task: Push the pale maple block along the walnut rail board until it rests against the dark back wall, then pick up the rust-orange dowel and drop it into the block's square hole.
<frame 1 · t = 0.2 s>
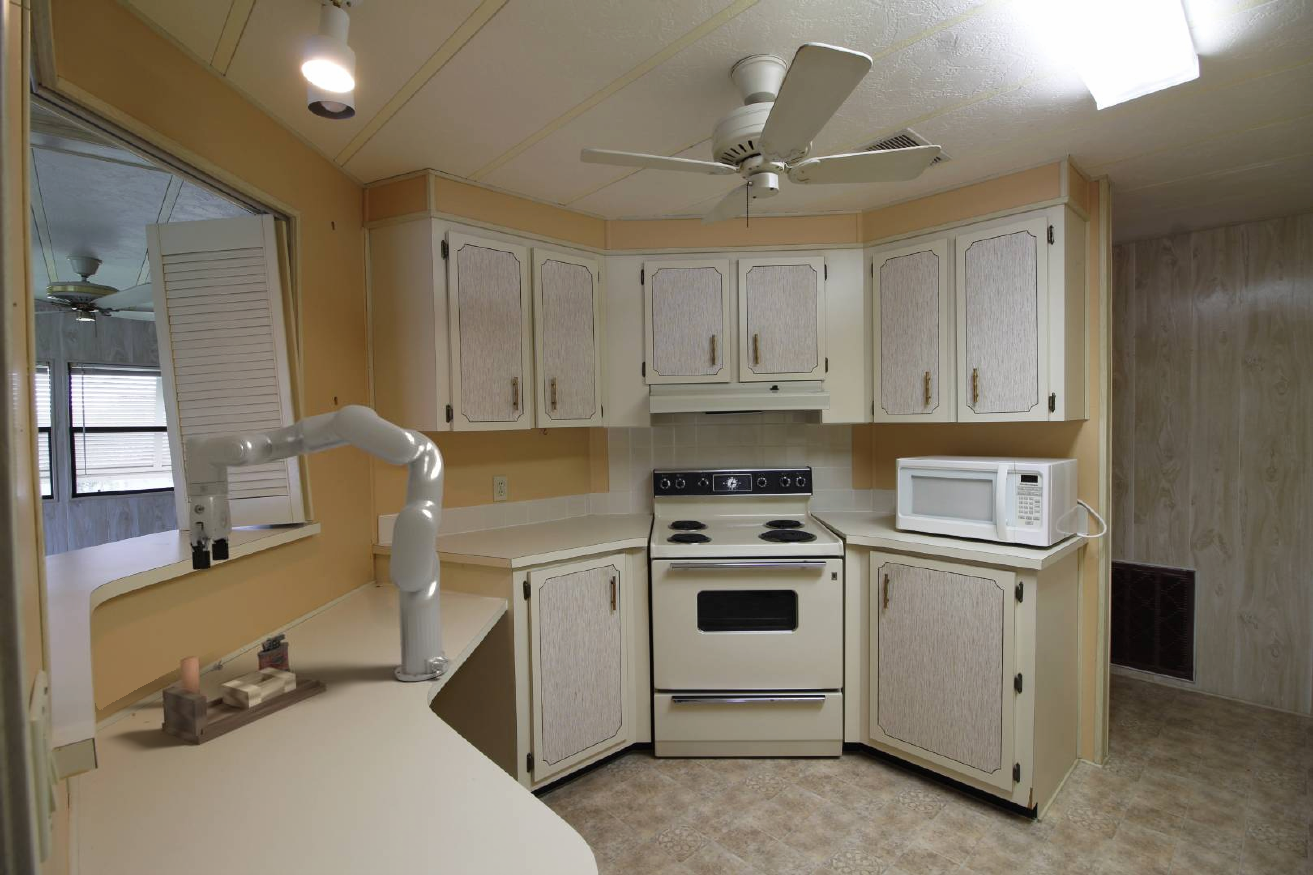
hand: (211, 564, 137), 31 cm above the counter, tool pointing down, fingers open, 9 cm apart
lighter: (274, 678, 147), on the counter
rail board: (249, 708, 131), on the counter
block: (259, 687, 133), point 4 cm above the counter, slide at 8.0 cm
dowel: (191, 702, 135), on the counter
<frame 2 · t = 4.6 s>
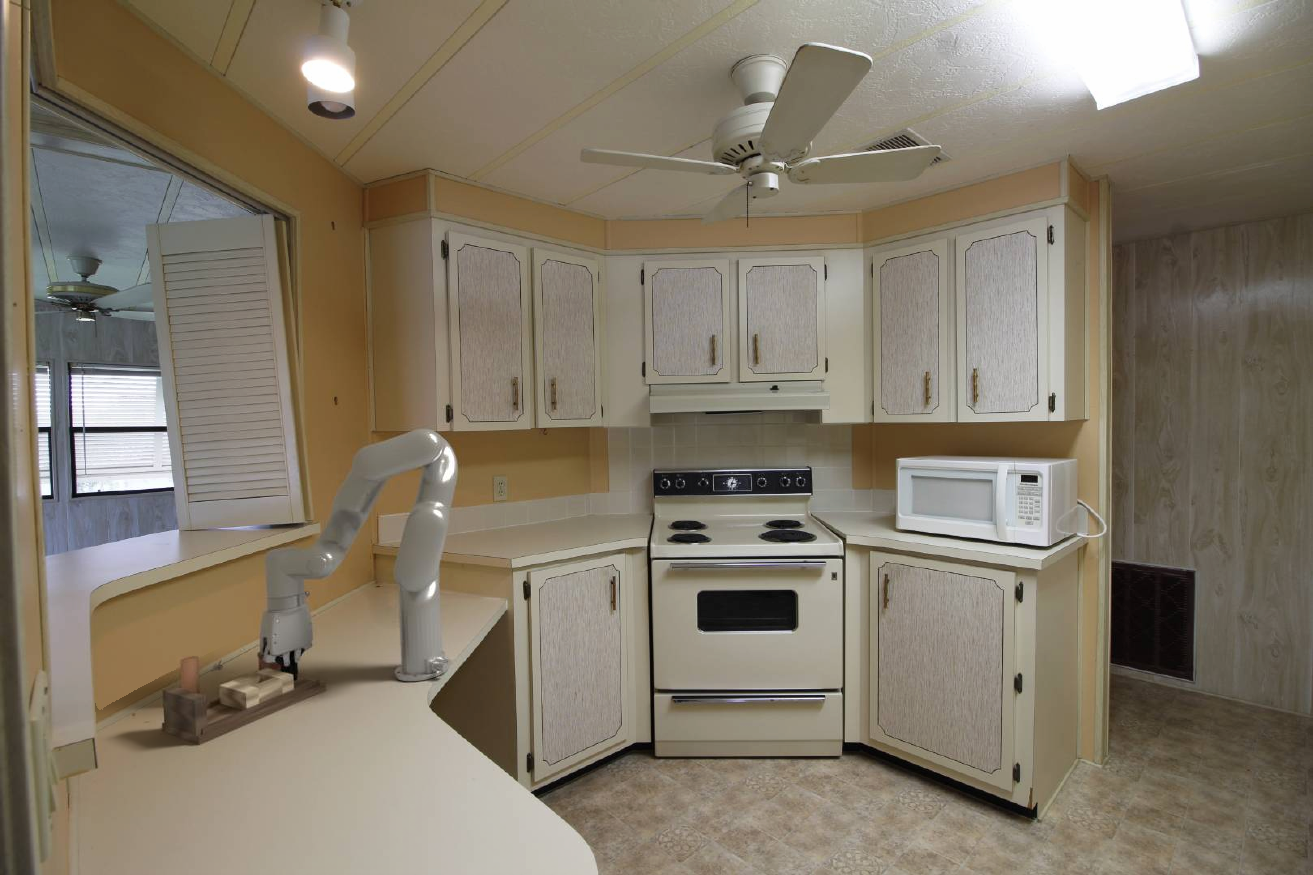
hand: (289, 680, 139), 3 cm above the counter, tool pointing down, fingers closed
block: (257, 688, 132), point 4 cm above the counter, slide at 7.5 cm, touching gripper
everything else where it was.
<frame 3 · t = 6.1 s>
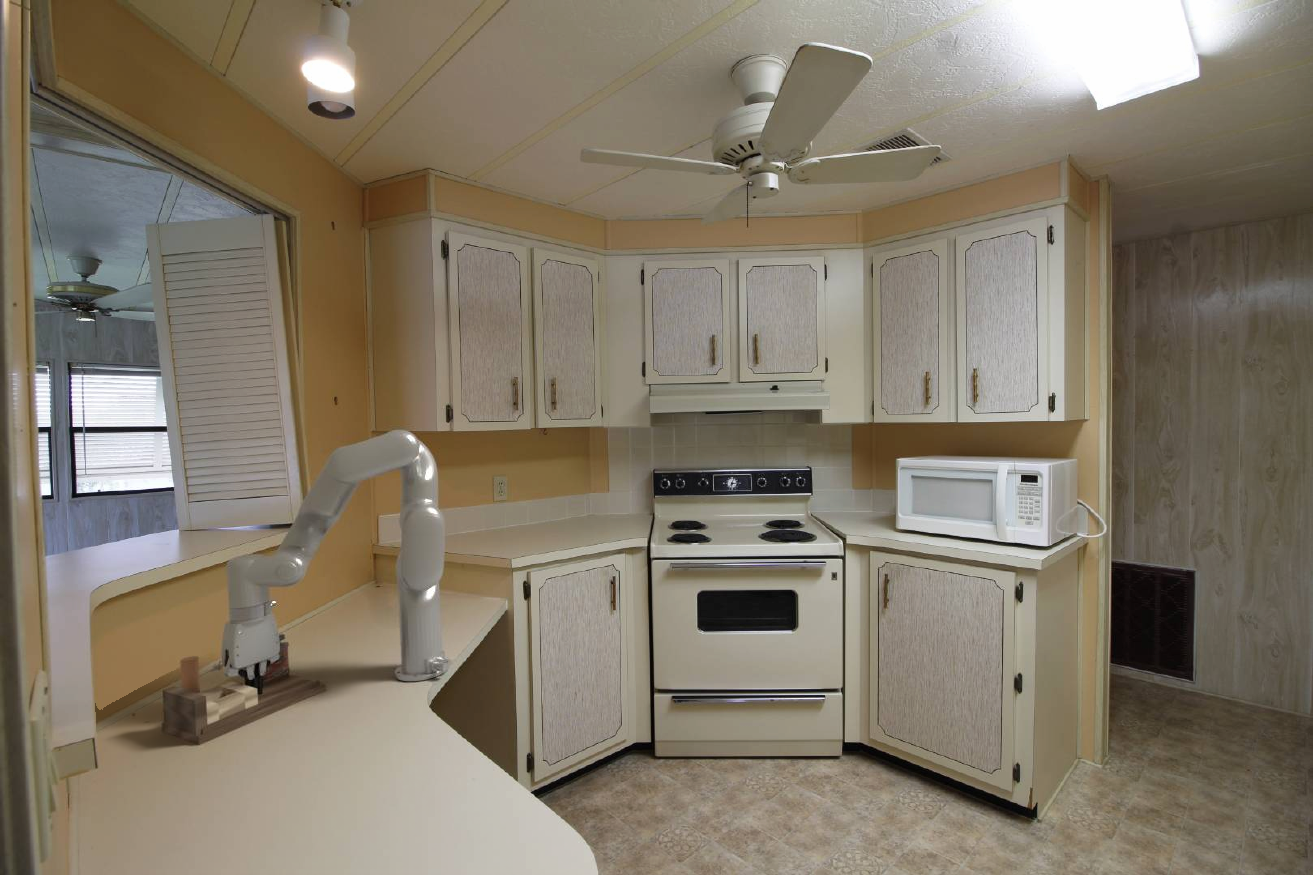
hand: (254, 694, 132), 3 cm above the counter, tool pointing down, fingers closed
block: (218, 703, 125), point 4 cm above the counter, slide at -0.2 cm, touching gripper
everything else where it was.
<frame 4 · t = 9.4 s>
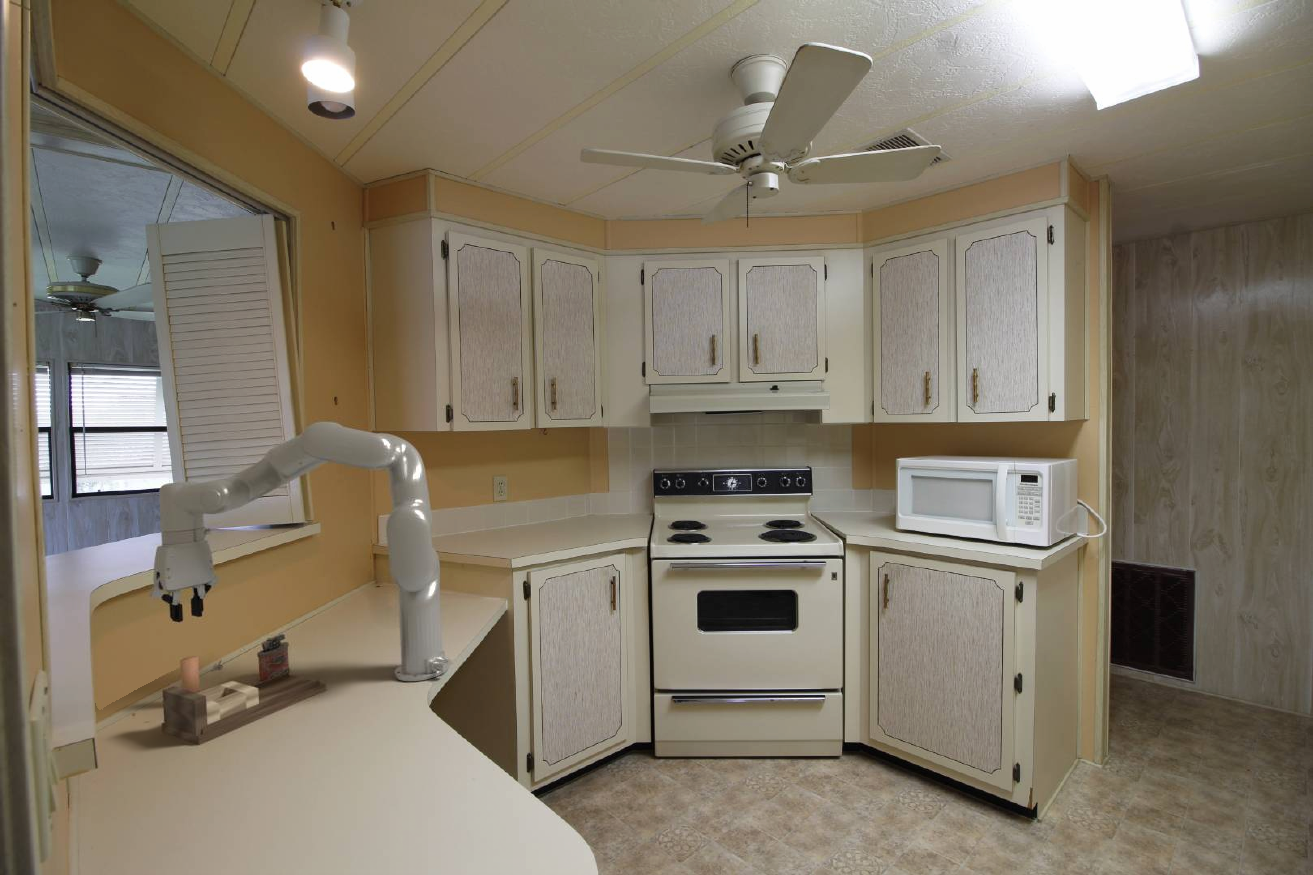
hand: (187, 617, 135), 19 cm above the counter, tool pointing down, fingers open, 3 cm apart
block: (219, 703, 126), point 4 cm above the counter, slide at 0.0 cm
everything else where it was.
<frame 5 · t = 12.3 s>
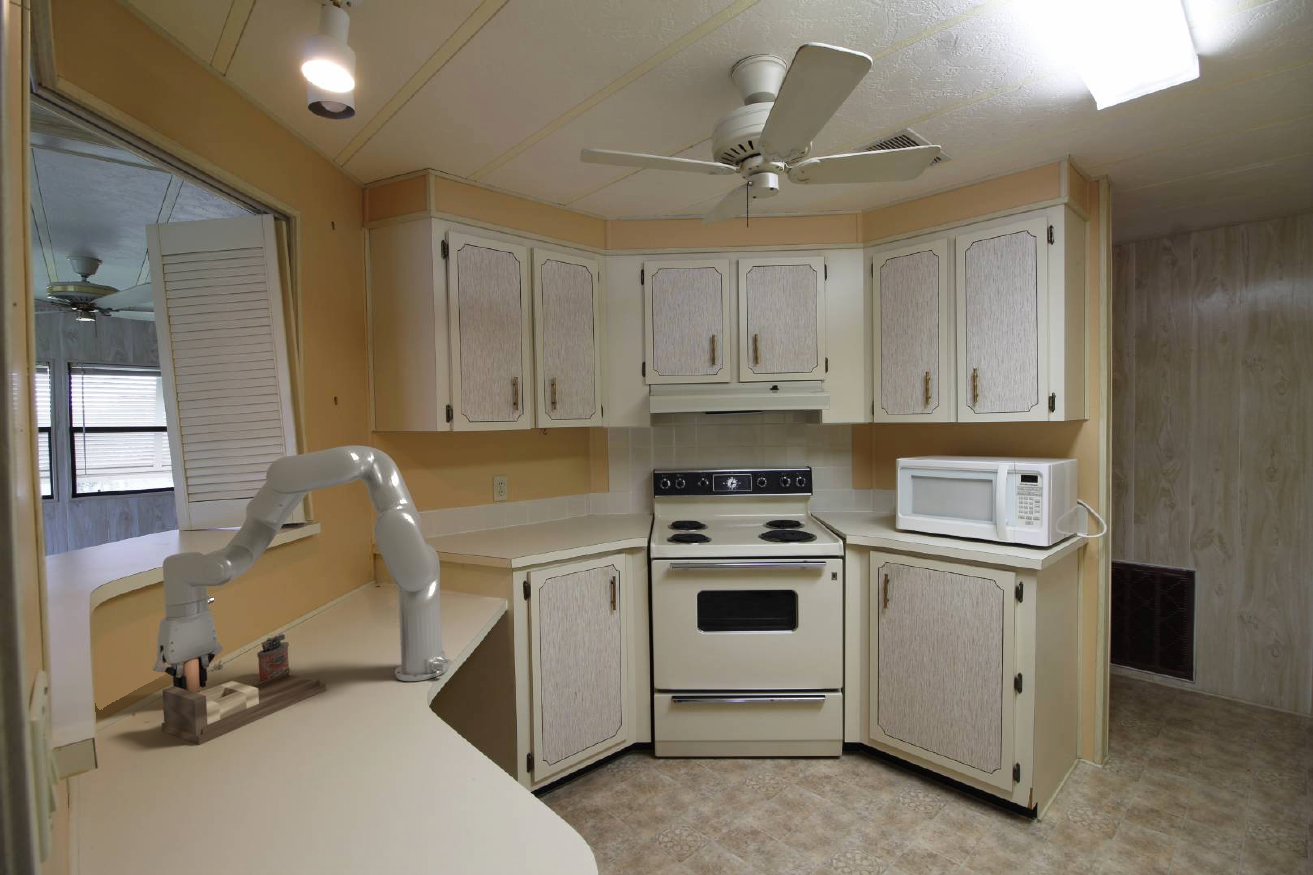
hand: (190, 688, 135), 3 cm above the counter, tool pointing down, fingers closed on dowel, 3 cm apart
dowel: (191, 702, 135), on the counter, touching gripper
everything else where it was.
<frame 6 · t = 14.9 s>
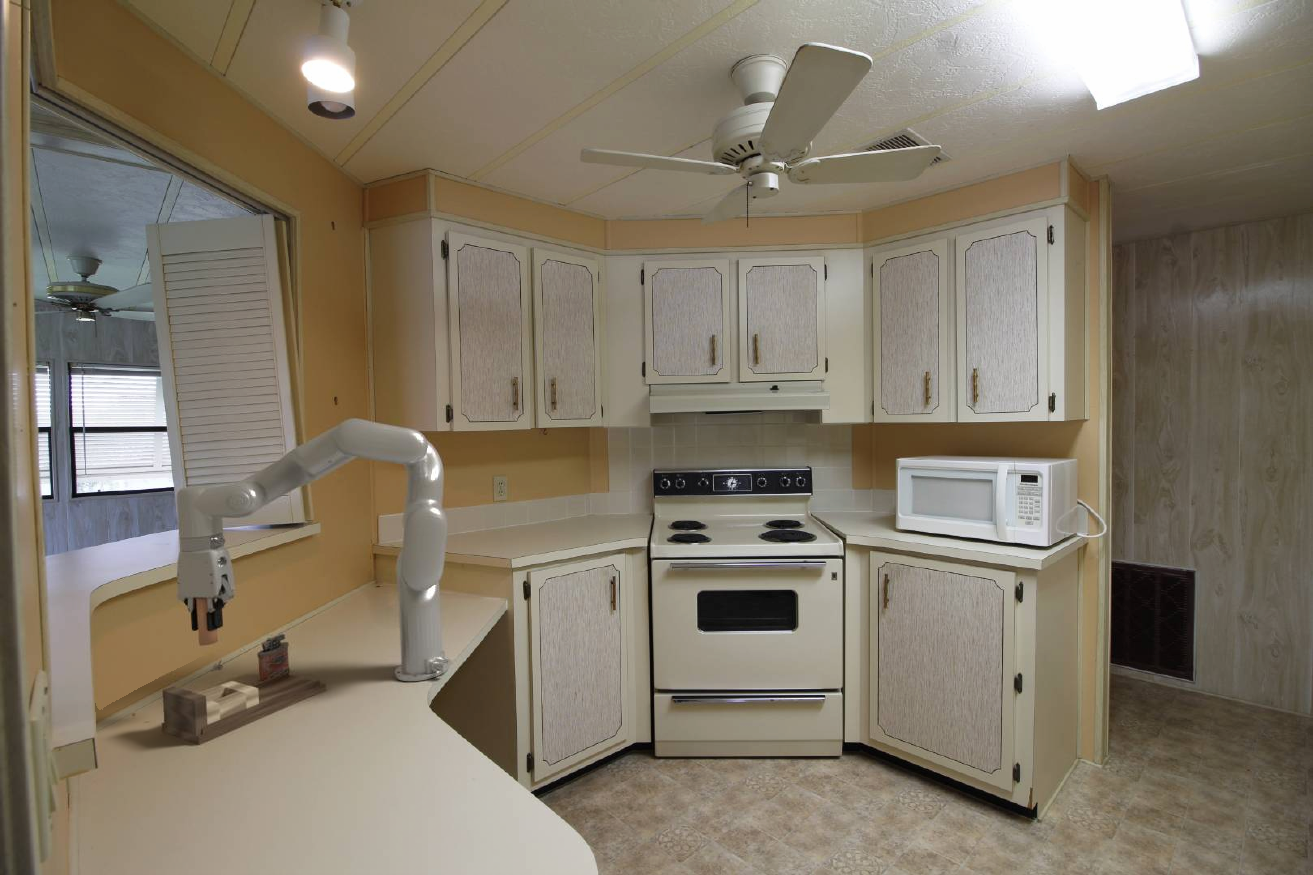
hand: (207, 627, 128), 19 cm above the counter, tool pointing down, fingers closed on dowel, 3 cm apart
dowel: (208, 642, 128), point 16 cm above the counter, touching gripper
everything else where it was.
when the fingers open (7 cm above the counter, at t = 17.9 s): dowel drops 2 cm, resting on rail board.
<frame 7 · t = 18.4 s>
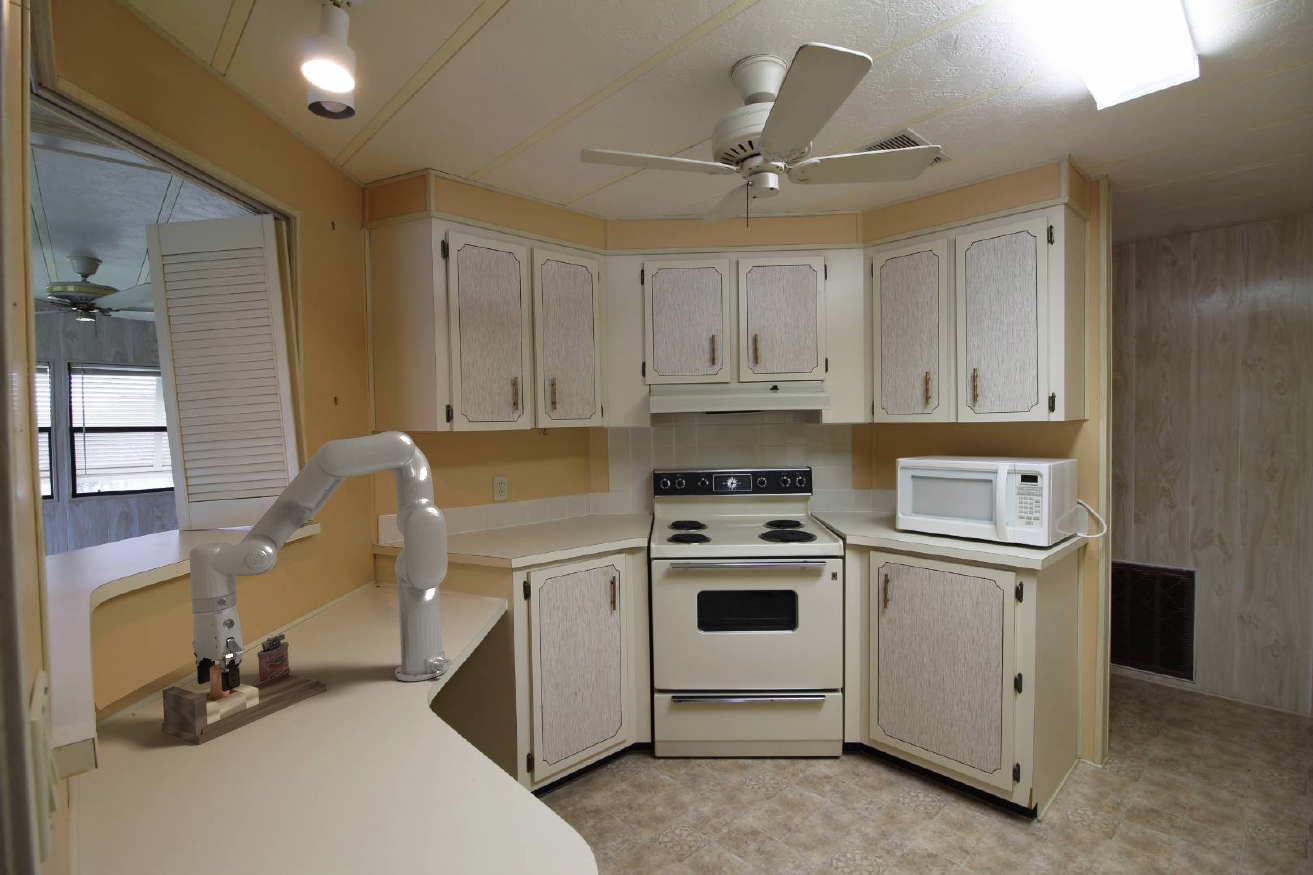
hand: (218, 684, 126), 8 cm above the counter, tool pointing down, fingers open, 8 cm apart
dowel: (220, 713, 126), point 2 cm above the counter, touching rail board
everything else where it was.
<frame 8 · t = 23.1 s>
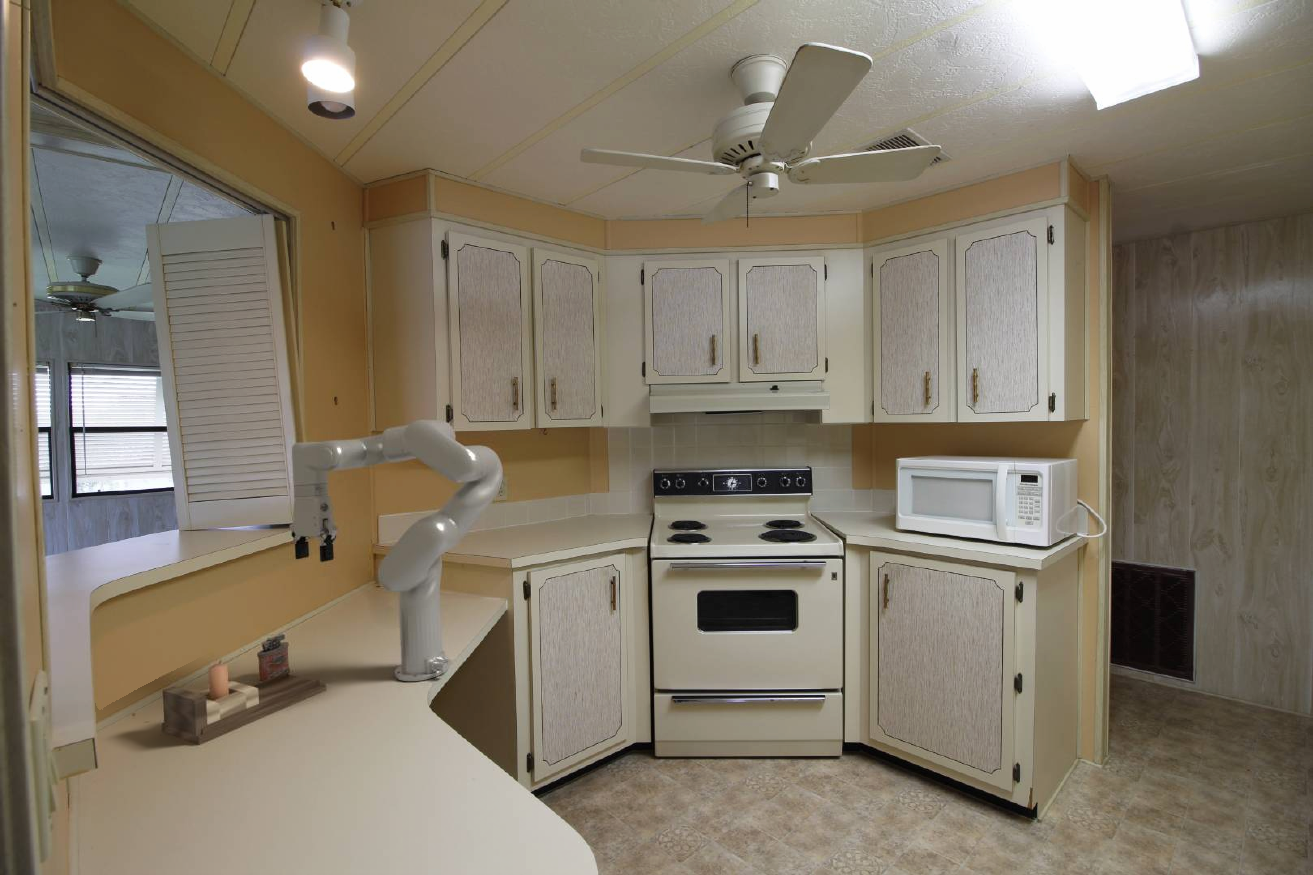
hand: (314, 559, 150), 28 cm above the counter, tool pointing down, fingers open, 9 cm apart
nothing on the counter moved.
at the end: block slide at 0.0 cm; dowel 0.0 cm from the target spot, point 1.5 cm above the counter; dowel tilted 0° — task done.
